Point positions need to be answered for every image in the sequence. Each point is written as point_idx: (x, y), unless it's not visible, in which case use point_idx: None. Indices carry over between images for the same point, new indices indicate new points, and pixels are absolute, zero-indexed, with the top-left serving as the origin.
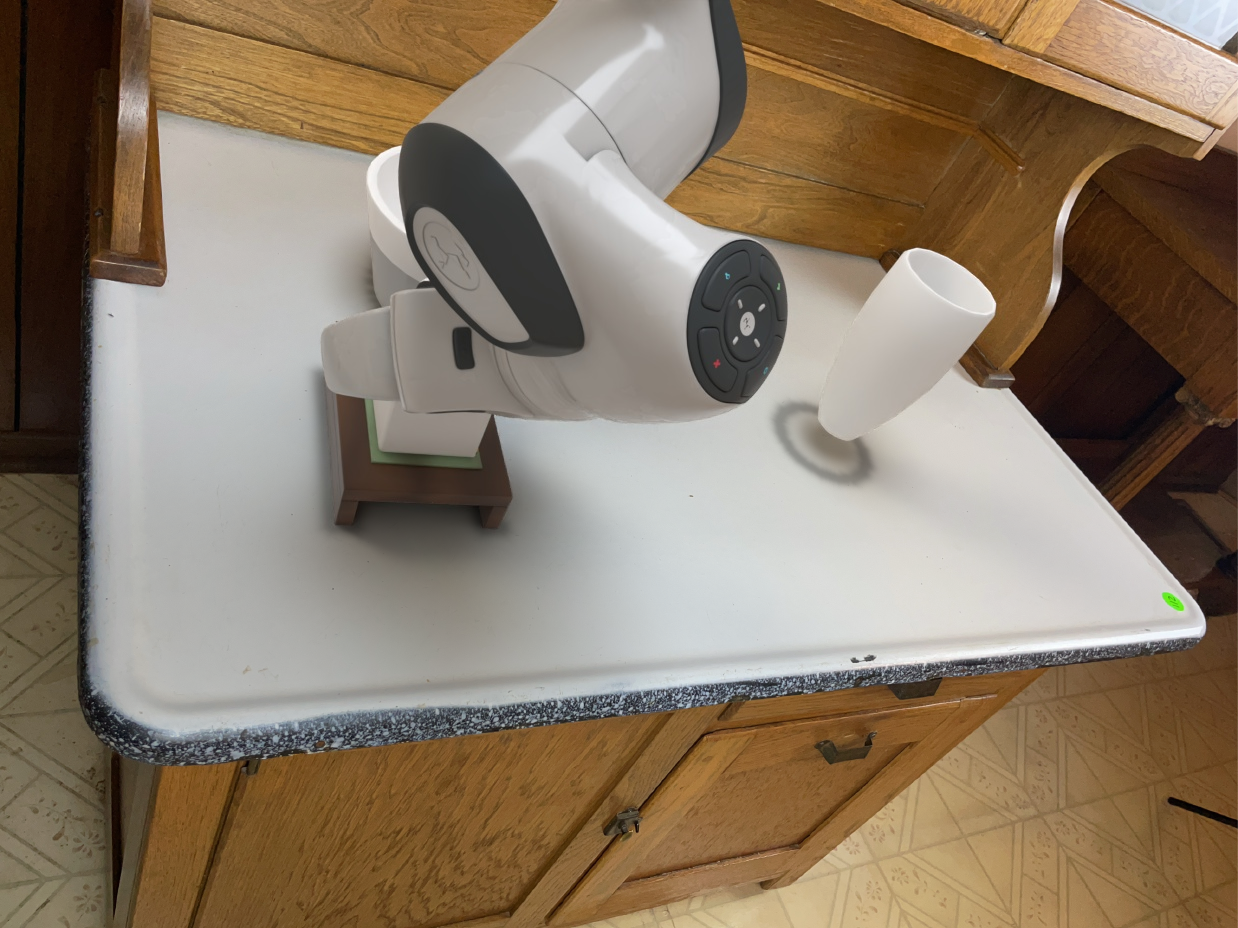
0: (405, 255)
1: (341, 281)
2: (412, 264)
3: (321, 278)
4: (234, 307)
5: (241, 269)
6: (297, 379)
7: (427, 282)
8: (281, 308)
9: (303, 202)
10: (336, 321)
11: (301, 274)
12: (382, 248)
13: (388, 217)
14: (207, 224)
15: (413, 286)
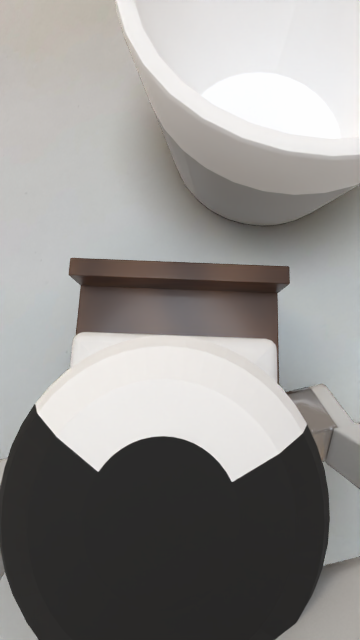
0: (172, 123)
1: (139, 136)
2: (184, 138)
3: (118, 135)
4: (23, 194)
5: (37, 137)
6: (72, 293)
7: (40, 433)
8: (70, 188)
9: (115, 20)
10: (70, 259)
11: (97, 133)
12: (151, 104)
13: (136, 47)
14: (13, 76)
15: (194, 165)
